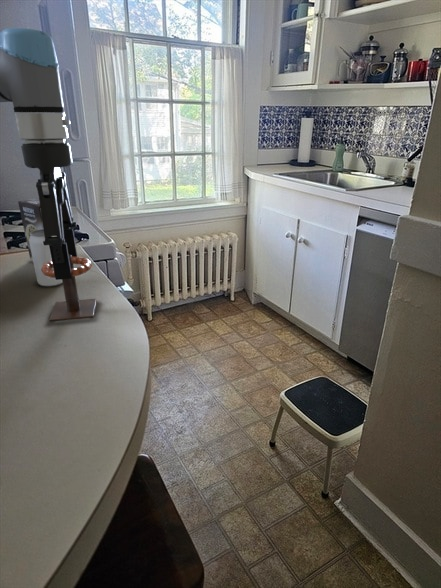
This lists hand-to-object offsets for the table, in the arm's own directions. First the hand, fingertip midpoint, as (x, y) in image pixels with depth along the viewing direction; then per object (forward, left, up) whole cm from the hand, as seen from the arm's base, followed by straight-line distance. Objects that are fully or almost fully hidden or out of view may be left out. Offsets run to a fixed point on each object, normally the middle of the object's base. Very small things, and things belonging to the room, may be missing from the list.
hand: (67, 269), depth 74 cm
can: (-18, -7, -10) cm, 22 cm away
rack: (0, 0, -9) cm, 9 cm away
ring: (0, 0, 0) cm, 0 cm away
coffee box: (-33, -10, -10) cm, 36 cm away
